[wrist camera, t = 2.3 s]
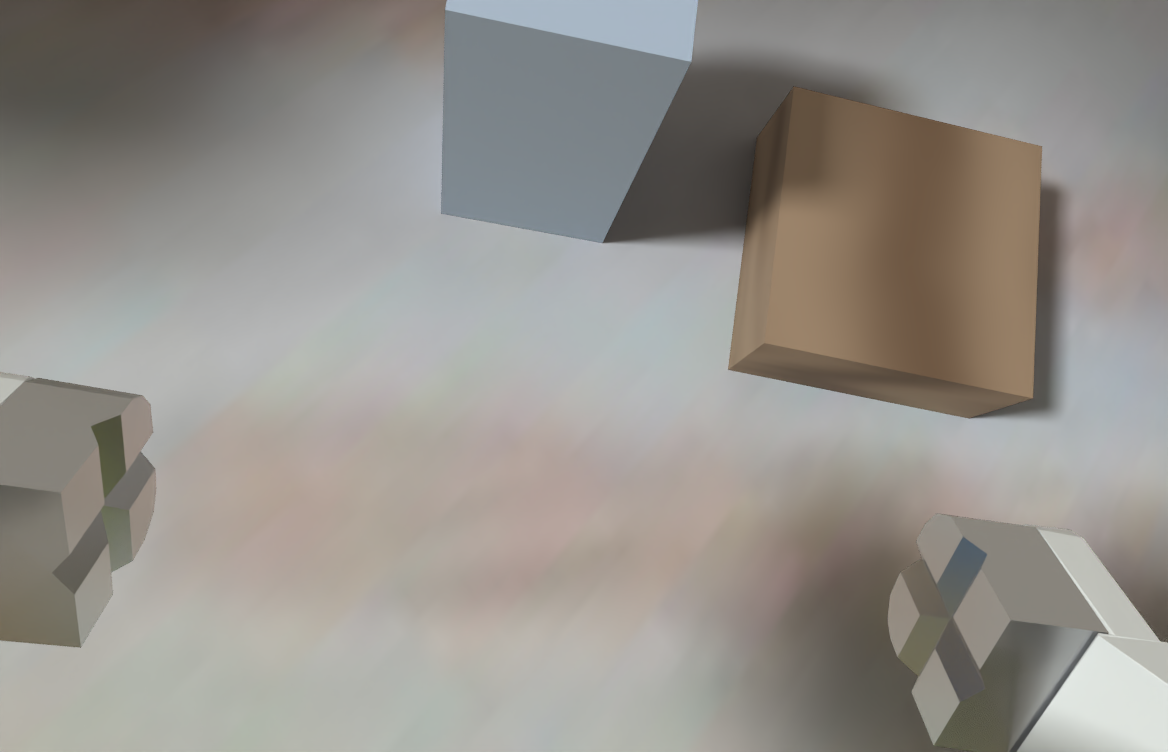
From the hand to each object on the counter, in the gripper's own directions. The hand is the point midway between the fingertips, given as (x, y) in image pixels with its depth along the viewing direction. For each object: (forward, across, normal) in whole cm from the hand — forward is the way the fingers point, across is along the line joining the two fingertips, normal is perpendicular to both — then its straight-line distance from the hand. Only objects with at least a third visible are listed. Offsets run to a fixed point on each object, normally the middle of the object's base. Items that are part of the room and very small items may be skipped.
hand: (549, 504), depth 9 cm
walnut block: (+19, -11, +4) cm, 22 cm away
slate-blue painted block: (+20, 0, +3) cm, 20 cm away
